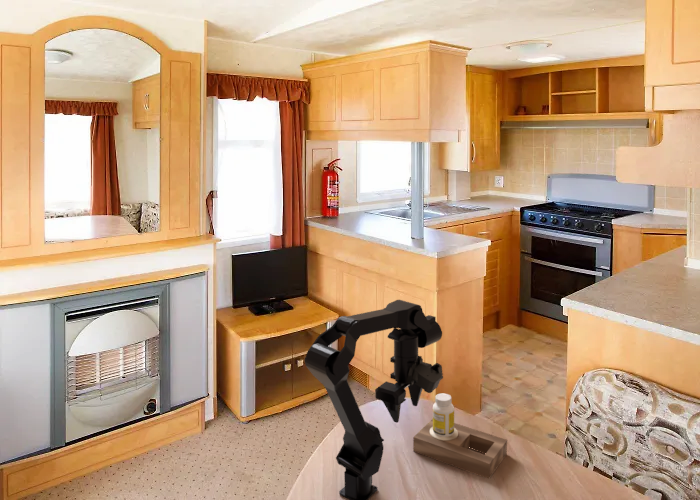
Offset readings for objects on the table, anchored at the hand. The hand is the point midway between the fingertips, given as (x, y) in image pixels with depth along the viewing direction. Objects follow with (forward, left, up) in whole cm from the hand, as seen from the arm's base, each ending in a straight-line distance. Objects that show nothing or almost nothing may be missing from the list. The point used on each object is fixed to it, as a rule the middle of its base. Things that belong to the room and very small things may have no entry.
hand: (405, 413), depth 129 cm
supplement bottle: (+11, -5, -9) cm, 15 cm away
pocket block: (+11, -9, -13) cm, 20 cm away
